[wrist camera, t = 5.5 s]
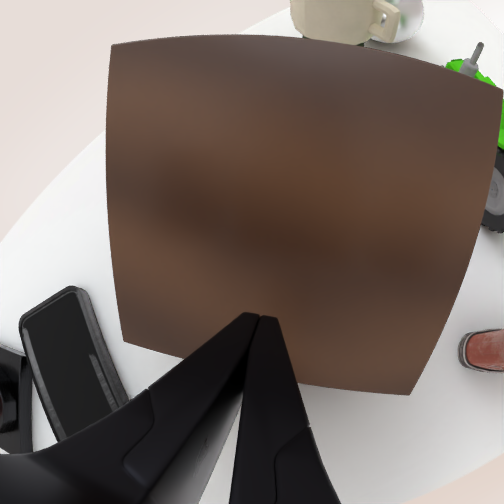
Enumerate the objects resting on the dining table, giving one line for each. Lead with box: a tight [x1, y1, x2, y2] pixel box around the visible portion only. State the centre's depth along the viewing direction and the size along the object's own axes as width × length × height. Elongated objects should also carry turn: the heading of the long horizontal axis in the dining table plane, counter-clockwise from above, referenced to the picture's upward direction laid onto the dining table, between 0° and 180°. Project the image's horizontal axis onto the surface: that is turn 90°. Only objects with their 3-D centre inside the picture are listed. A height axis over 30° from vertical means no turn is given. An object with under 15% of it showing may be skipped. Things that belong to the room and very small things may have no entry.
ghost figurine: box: [370, 0, 424, 43], centre depth 24 cm, size 9×10×10 cm
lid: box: [106, 35, 503, 395], centre depth 10 cm, size 12×13×1 cm
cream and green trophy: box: [290, 0, 401, 47], centre depth 21 cm, size 11×7×13 cm, turn 40°
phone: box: [19, 286, 129, 442], centre depth 20 cm, size 8×1×15 cm
